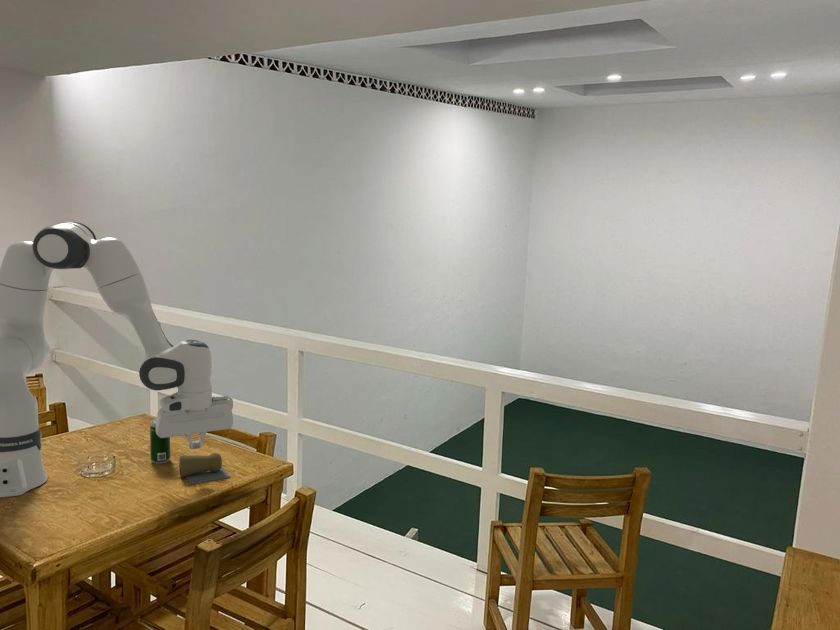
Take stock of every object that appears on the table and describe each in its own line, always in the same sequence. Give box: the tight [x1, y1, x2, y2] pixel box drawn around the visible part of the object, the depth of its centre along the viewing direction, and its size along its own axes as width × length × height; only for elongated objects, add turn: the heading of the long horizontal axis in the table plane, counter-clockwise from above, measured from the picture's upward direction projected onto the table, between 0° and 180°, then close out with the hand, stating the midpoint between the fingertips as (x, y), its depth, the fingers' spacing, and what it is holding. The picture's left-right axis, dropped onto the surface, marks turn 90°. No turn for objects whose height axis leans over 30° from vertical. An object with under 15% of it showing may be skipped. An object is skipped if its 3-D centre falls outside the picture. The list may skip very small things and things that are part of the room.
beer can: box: [149, 418, 171, 465], centre depth 194 cm, size 5×5×12 cm
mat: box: [185, 466, 231, 485], centre depth 186 cm, size 10×10×1 cm
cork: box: [178, 452, 223, 478], centre depth 186 cm, size 6×6×11 cm
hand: (195, 448), depth 184 cm, fingers closed
